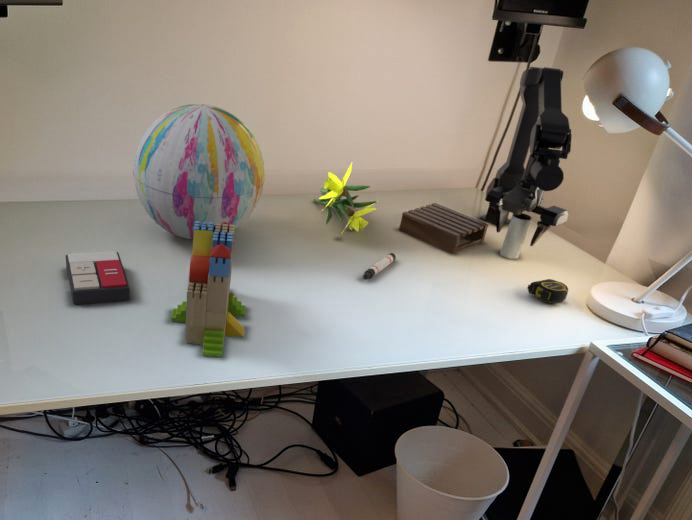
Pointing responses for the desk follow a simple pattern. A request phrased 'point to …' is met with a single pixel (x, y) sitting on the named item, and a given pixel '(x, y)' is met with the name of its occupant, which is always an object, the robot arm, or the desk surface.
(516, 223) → the grey hollow cylinder
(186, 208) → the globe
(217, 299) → the block set
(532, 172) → the robot arm
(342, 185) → the daffodil flowers
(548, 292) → the tape measure
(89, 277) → the calculator
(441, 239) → the rack
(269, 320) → the desk surface
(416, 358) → the desk surface
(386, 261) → the marker
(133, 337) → the desk surface
